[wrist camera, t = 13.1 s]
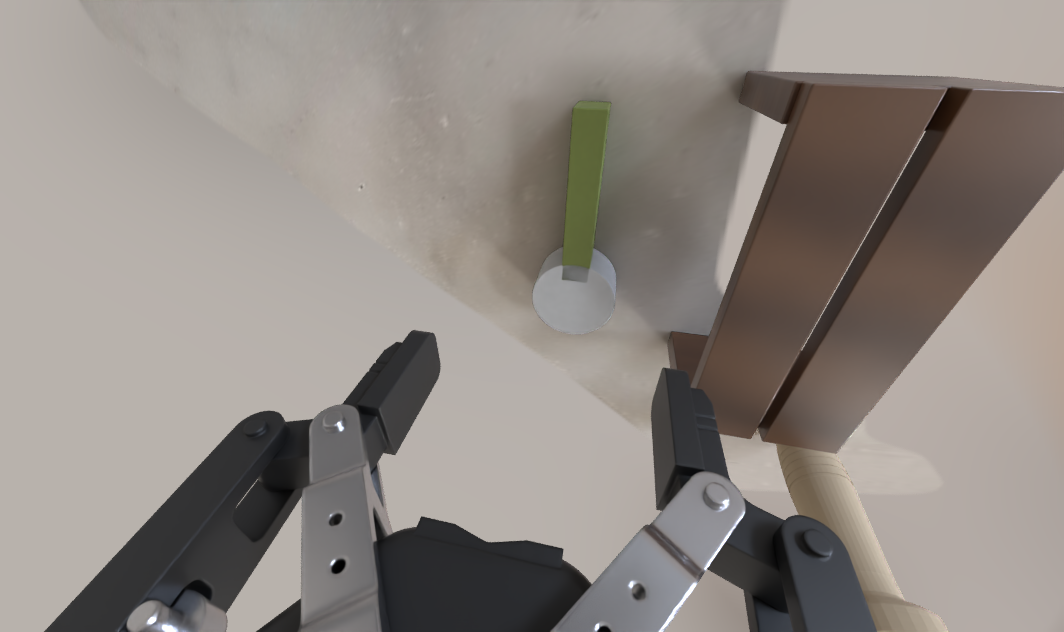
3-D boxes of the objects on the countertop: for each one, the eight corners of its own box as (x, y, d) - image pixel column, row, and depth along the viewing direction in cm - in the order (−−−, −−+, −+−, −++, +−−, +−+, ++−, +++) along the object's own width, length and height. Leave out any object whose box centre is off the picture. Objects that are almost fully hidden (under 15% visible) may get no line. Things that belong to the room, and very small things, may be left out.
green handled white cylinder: (545, 99, 22) (535, 105, 19) (646, 103, 21) (648, 110, 18) (539, 306, 30) (531, 329, 28) (610, 315, 29) (609, 339, 27)
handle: (753, 447, 34) (821, 665, 22) (768, 396, 30) (858, 623, 18) (815, 451, 33) (923, 685, 21) (838, 399, 29) (983, 644, 17)
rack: (747, 70, 19) (806, 82, 13) (952, 76, 18) (1135, 93, 11) (667, 345, 30) (677, 427, 23) (792, 362, 28) (840, 455, 22)
